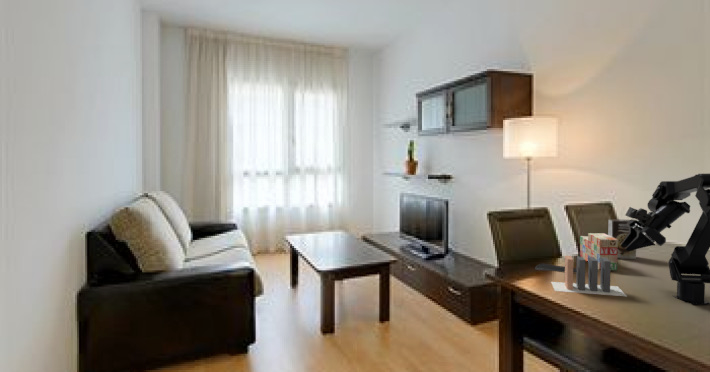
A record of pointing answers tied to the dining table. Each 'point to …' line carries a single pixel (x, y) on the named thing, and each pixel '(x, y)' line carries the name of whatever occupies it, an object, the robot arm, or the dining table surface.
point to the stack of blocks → (599, 248)
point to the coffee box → (620, 237)
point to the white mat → (587, 289)
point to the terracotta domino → (569, 272)
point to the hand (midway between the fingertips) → (623, 248)
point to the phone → (552, 268)
